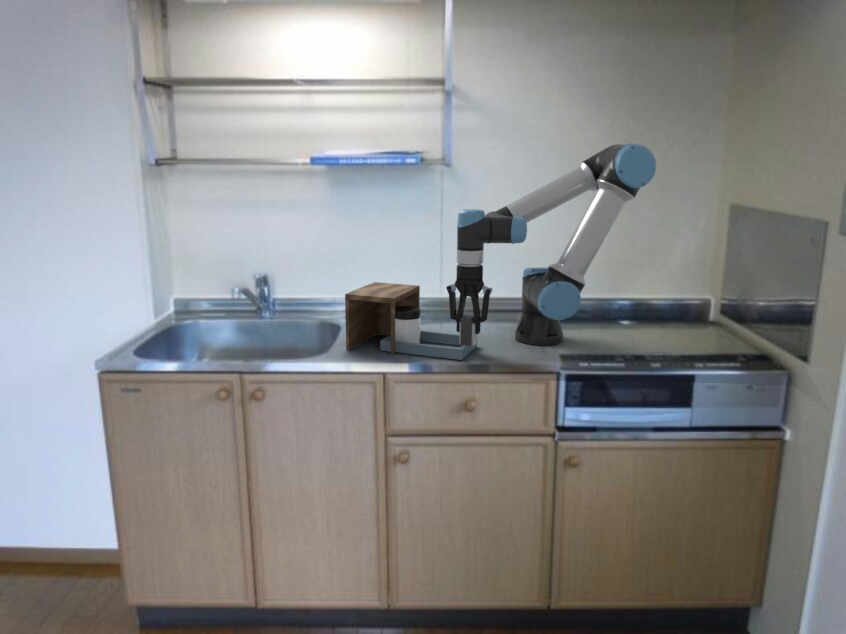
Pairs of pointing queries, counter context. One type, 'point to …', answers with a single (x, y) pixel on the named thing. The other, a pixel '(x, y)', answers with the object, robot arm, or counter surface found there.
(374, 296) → the open box
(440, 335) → the tray
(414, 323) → the jar
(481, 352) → the counter surface
